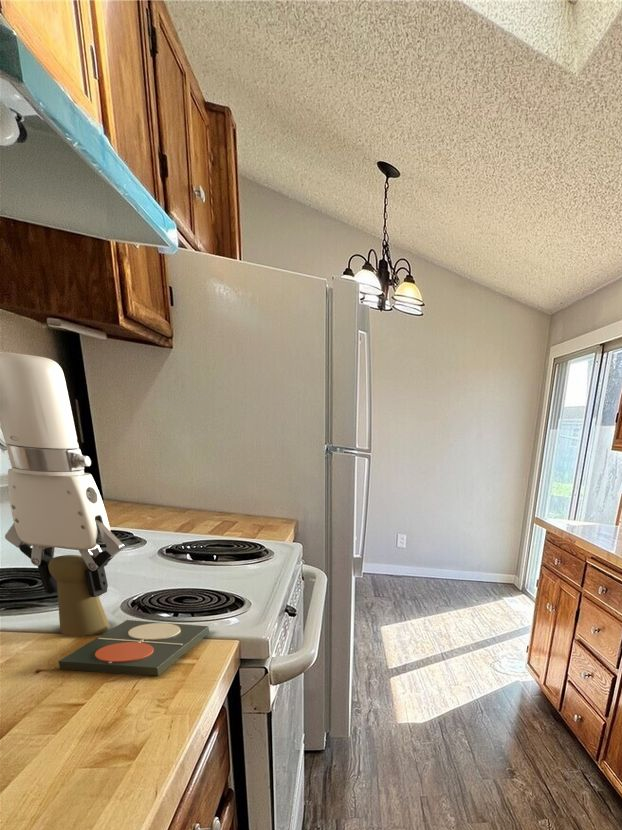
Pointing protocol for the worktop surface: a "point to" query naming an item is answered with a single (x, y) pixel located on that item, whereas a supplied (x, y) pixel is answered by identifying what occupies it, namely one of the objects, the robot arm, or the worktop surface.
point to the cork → (76, 598)
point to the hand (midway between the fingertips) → (77, 591)
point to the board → (136, 648)
